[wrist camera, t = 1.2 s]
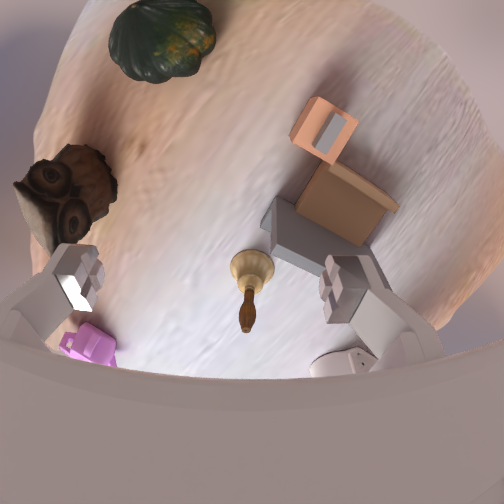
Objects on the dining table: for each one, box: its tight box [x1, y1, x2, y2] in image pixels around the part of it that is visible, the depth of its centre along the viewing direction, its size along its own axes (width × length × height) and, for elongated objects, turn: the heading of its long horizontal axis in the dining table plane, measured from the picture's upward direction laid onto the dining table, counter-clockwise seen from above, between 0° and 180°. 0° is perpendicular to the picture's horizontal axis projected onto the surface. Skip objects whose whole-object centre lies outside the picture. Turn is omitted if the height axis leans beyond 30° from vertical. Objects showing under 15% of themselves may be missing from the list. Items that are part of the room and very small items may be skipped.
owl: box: [13, 144, 118, 258], centre depth 36 cm, size 13×13×20 cm
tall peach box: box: [289, 97, 359, 166], centre depth 33 cm, size 6×7×11 cm
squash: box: [108, 0, 216, 84], centre depth 27 cm, size 14×15×15 cm
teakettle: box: [59, 322, 117, 367], centre depth 65 cm, size 17×17×12 cm
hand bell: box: [230, 250, 274, 333], centre depth 45 cm, size 8×8×16 cm
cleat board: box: [260, 160, 400, 292], centre depth 38 cm, size 20×16×16 cm
